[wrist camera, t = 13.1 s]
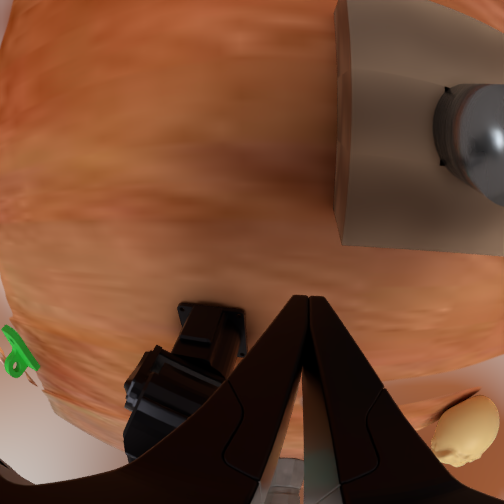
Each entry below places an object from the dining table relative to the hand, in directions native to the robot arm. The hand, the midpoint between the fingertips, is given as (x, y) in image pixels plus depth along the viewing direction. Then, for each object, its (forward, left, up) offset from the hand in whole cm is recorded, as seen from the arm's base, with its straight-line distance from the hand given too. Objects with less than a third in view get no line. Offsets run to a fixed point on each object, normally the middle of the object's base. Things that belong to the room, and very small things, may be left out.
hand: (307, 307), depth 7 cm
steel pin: (+5, -9, -12) cm, 16 cm away
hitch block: (+5, -9, -13) cm, 17 cm away
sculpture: (-33, -30, -13) cm, 47 cm away
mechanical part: (-35, +60, -14) cm, 71 cm away
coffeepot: (-59, -2, -13) cm, 61 cm away
